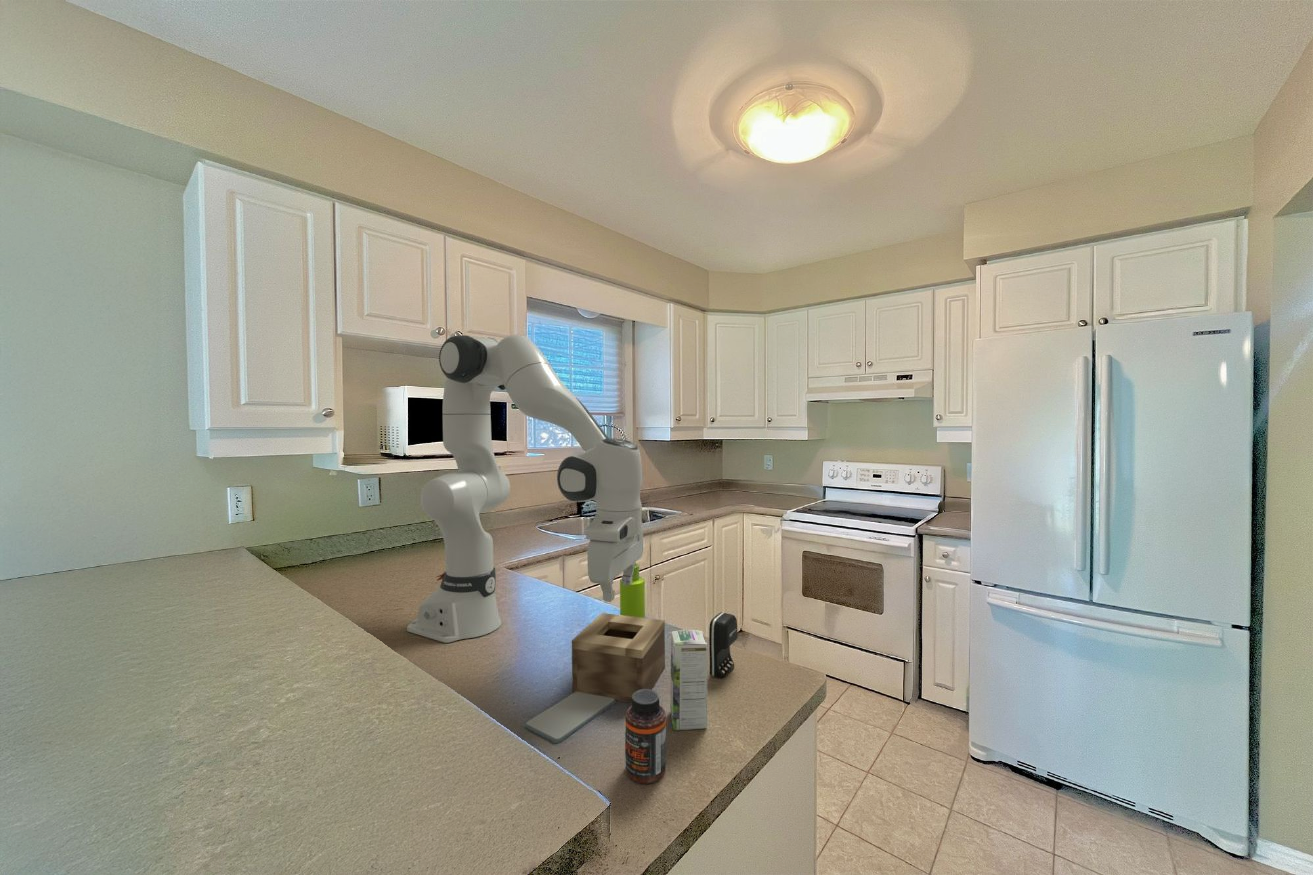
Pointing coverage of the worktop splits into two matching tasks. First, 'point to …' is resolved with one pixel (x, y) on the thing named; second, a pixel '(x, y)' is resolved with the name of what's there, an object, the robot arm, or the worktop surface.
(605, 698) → the smartphone
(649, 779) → the supplement bottle
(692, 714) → the syrup box
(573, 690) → the box
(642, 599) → the soap dispenser
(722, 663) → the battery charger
